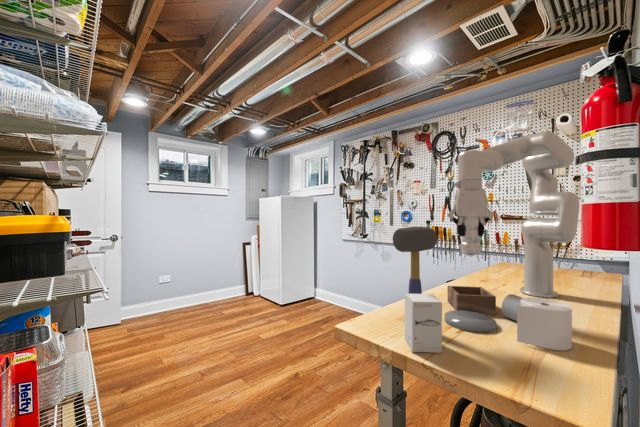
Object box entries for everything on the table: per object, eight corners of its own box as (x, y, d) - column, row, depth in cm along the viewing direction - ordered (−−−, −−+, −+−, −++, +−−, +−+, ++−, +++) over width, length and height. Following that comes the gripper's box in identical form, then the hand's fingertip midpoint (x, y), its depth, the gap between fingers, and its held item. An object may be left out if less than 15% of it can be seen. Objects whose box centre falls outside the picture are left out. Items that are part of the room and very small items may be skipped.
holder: (447, 301, 106) (447, 285, 106) (481, 303, 104) (481, 287, 104) (457, 312, 95) (457, 294, 94) (495, 314, 92) (495, 296, 92)
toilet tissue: (574, 341, 73) (574, 303, 73) (568, 358, 65) (568, 315, 65) (525, 329, 81) (525, 295, 81) (514, 342, 73) (514, 304, 73)
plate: (440, 313, 94) (439, 309, 94) (485, 316, 91) (485, 311, 91) (451, 330, 80) (451, 325, 80) (505, 334, 77) (505, 329, 77)
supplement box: (411, 353, 67) (411, 301, 67) (404, 339, 75) (404, 292, 75) (442, 354, 67) (442, 301, 67) (432, 340, 74) (432, 292, 74)
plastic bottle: (464, 256, 97) (463, 199, 96) (457, 253, 103) (457, 200, 103) (484, 257, 96) (483, 199, 95) (476, 254, 102) (475, 199, 102)
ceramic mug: (527, 328, 81) (527, 302, 81) (500, 318, 89) (500, 294, 89) (551, 324, 85) (551, 299, 85) (523, 315, 92) (523, 292, 92)
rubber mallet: (409, 336, 76) (409, 227, 76) (390, 326, 83) (390, 226, 83) (439, 327, 82) (439, 226, 82) (419, 318, 89) (419, 225, 89)
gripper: (447, 185, 97) (447, 237, 97) (501, 184, 94) (501, 237, 94) (441, 187, 104) (442, 235, 105) (491, 185, 101) (492, 235, 102)
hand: (470, 235), depth 99 cm, fingers closed on plastic bottle, 5 cm apart
